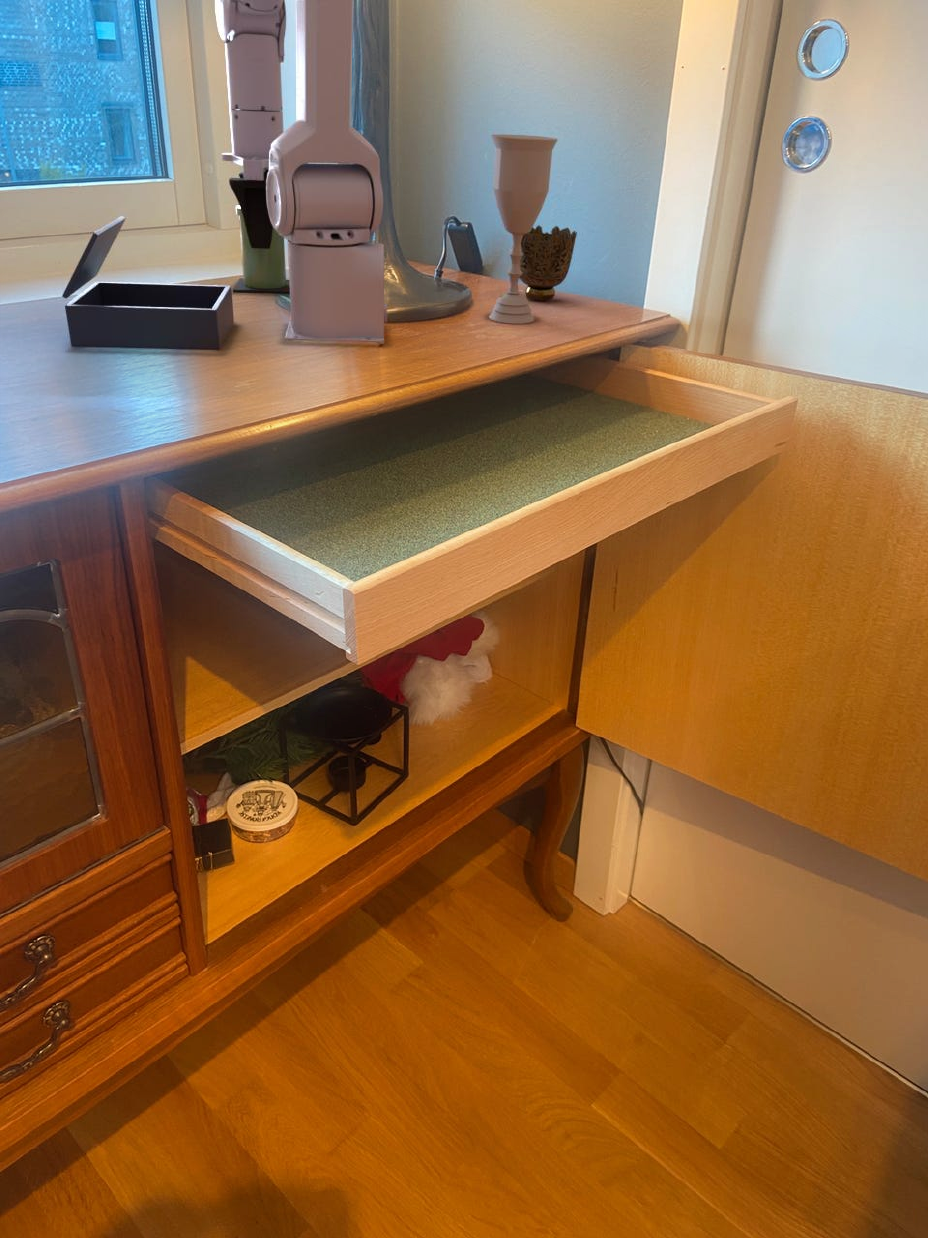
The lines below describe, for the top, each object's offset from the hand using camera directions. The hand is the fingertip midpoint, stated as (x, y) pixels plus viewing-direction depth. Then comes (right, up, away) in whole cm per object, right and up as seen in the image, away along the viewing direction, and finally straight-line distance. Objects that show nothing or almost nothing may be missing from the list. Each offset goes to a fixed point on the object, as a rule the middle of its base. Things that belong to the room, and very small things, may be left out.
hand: (263, 242), depth 108 cm
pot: (0, -4, +2) cm, 5 cm away
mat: (0, -4, +3) cm, 5 cm away
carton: (-6, -17, -20) cm, 27 cm away
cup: (+33, -5, +5) cm, 33 cm away
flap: (-10, -11, -24) cm, 28 cm away
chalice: (+29, -11, -5) cm, 31 cm away
